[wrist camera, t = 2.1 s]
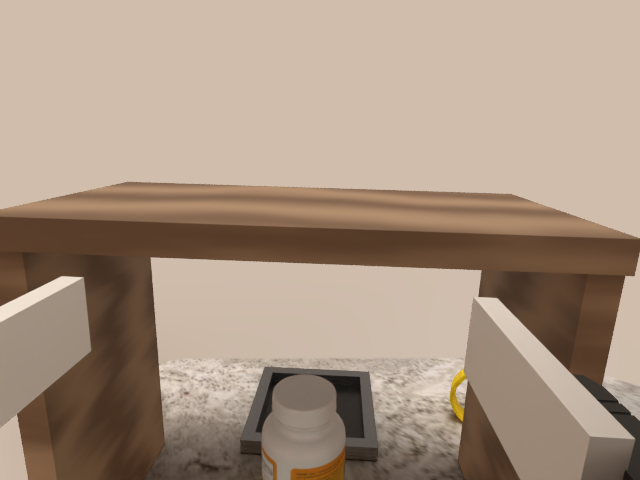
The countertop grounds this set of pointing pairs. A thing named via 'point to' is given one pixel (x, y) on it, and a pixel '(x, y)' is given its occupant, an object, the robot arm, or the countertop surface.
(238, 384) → the countertop surface
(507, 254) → the tunnel
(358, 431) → the tray
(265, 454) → the supplement bottle
